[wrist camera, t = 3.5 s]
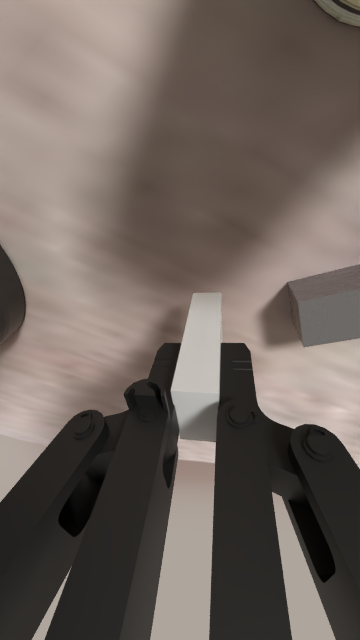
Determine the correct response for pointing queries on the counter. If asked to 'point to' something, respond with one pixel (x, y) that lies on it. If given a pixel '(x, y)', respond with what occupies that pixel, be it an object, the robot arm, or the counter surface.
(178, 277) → the counter surface
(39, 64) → the counter surface
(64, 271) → the counter surface
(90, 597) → the robot arm
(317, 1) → the coffee can
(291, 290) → the steel bar
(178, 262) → the counter surface
